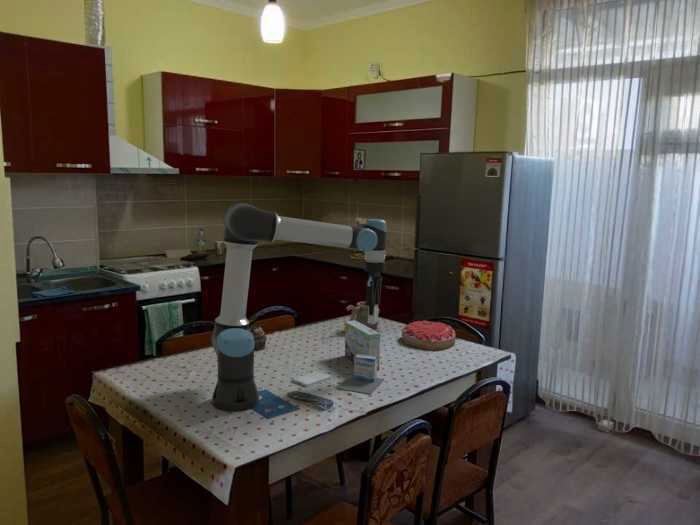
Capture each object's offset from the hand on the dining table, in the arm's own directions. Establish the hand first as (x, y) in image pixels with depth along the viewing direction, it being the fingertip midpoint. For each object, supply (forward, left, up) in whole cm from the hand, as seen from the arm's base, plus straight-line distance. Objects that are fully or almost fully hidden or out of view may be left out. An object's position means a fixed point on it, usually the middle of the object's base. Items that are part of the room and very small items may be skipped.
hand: (372, 322), depth 211 cm
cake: (+53, -11, -21) cm, 58 cm away
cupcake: (+9, +56, -21) cm, 60 cm away
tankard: (+53, +23, -21) cm, 62 cm away
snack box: (+11, +8, -21) cm, 25 cm away
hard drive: (-15, +18, -21) cm, 32 cm away
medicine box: (-7, 0, -20) cm, 21 cm away
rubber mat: (-12, 0, -20) cm, 23 cm away
